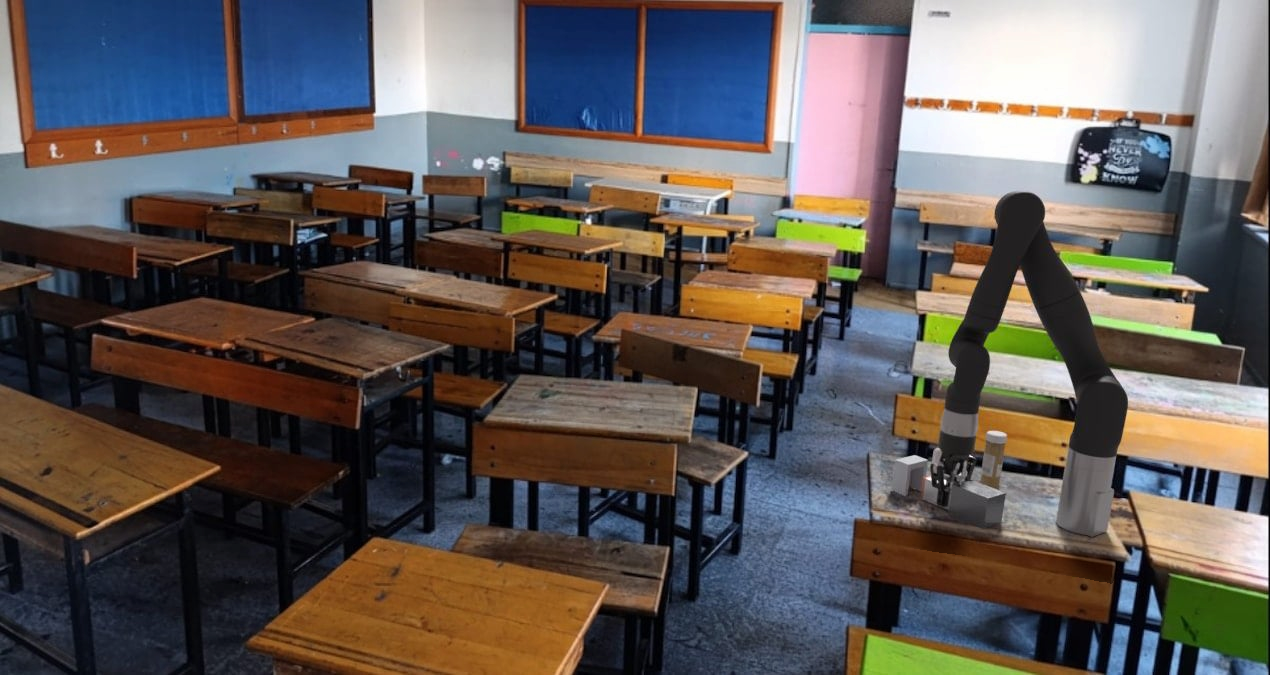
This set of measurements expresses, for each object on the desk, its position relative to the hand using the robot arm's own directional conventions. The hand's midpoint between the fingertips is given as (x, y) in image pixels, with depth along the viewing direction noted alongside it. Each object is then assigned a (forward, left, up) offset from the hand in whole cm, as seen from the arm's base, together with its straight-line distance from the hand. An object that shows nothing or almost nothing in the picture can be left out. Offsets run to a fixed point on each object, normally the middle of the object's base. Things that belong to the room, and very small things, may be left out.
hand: (948, 503), depth 210 cm
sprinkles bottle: (+3, -20, -1) cm, 20 cm away
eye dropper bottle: (+11, -13, -1) cm, 17 cm away
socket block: (+11, 0, -1) cm, 11 cm away
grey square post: (-2, 0, -1) cm, 2 cm away
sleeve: (-6, 0, -1) cm, 7 cm away
